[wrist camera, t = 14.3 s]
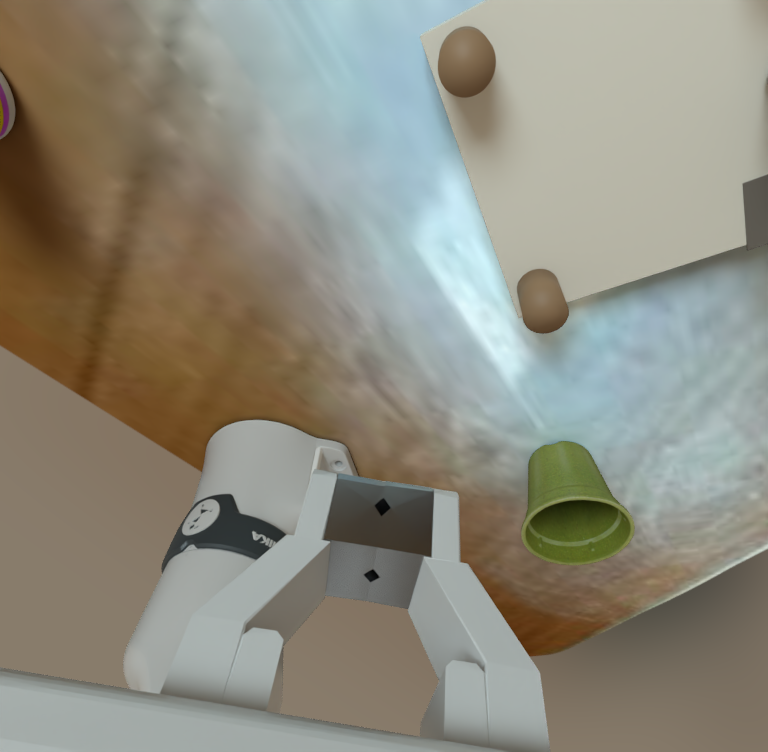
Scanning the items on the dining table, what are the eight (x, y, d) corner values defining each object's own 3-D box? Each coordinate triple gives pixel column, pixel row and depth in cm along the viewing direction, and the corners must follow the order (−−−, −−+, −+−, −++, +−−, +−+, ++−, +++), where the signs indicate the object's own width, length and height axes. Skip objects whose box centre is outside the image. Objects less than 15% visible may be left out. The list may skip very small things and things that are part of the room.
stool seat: (809, 210, 36) (870, 247, 31) (516, 306, 42) (526, 350, 37) (809, -173, 25) (901, -214, 20) (421, 33, 32) (416, 42, 27)
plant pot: (540, 414, 49) (555, 485, 42) (629, 444, 50) (658, 517, 43) (496, 477, 54) (503, 548, 48) (577, 502, 56) (595, 576, 49)
